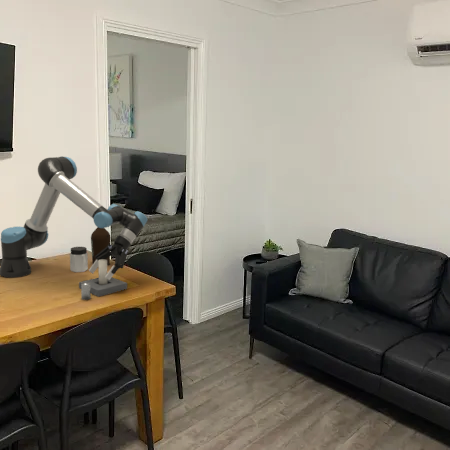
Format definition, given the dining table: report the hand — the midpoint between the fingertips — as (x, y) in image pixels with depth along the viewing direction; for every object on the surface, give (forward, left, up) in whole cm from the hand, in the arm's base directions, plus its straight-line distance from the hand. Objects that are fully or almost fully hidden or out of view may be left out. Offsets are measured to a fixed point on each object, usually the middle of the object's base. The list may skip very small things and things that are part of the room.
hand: (98, 275), depth 225 cm
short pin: (+6, -11, -7) cm, 14 cm away
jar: (-34, +10, -7) cm, 36 cm away
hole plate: (0, +2, -7) cm, 7 cm away
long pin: (0, +2, -7) cm, 7 cm away
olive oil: (-36, +25, -7) cm, 45 cm away
